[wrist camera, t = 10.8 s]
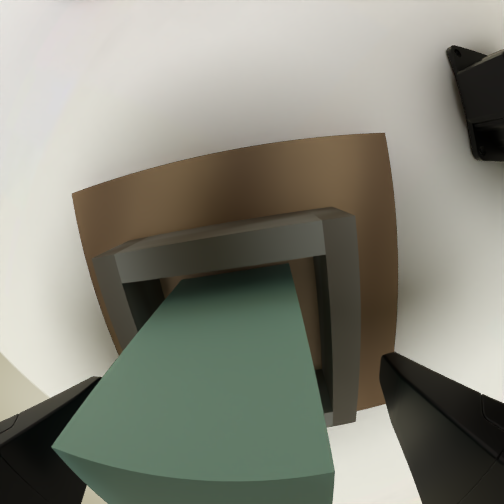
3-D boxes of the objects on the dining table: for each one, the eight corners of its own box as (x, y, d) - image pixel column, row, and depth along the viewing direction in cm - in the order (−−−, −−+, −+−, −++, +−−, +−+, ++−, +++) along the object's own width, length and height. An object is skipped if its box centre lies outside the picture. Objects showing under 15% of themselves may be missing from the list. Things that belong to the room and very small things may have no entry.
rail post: (288, 262, 11) (334, 471, 2) (301, 355, 12) (327, 543, 3) (181, 279, 12) (51, 446, 3) (207, 366, 13) (153, 537, 4)
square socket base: (376, 136, 11) (420, 119, 7) (381, 392, 14) (402, 439, 10) (83, 192, 12) (28, 199, 8) (157, 414, 15) (138, 458, 11)
